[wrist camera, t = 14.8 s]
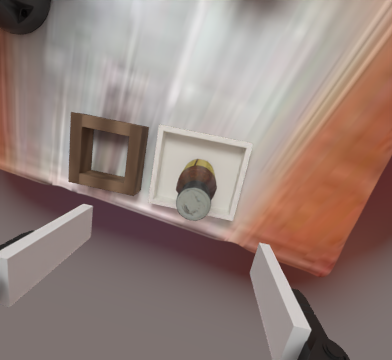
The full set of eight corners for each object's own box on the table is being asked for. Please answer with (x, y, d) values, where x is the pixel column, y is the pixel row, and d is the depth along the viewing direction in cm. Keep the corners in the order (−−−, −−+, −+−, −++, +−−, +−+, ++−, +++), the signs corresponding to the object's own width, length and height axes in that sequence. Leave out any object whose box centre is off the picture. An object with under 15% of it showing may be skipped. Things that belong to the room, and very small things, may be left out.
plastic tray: (152, 197, 45) (147, 202, 41) (163, 125, 41) (159, 124, 37) (231, 214, 44) (232, 221, 41) (249, 142, 40) (253, 143, 37)
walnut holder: (80, 177, 45) (68, 181, 41) (84, 114, 42) (71, 112, 38) (140, 190, 45) (133, 195, 41) (148, 127, 41) (142, 126, 37)
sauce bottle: (185, 187, 43) (162, 231, 23) (183, 158, 41) (157, 179, 22) (216, 186, 42) (218, 230, 23) (215, 157, 41) (217, 177, 21)
